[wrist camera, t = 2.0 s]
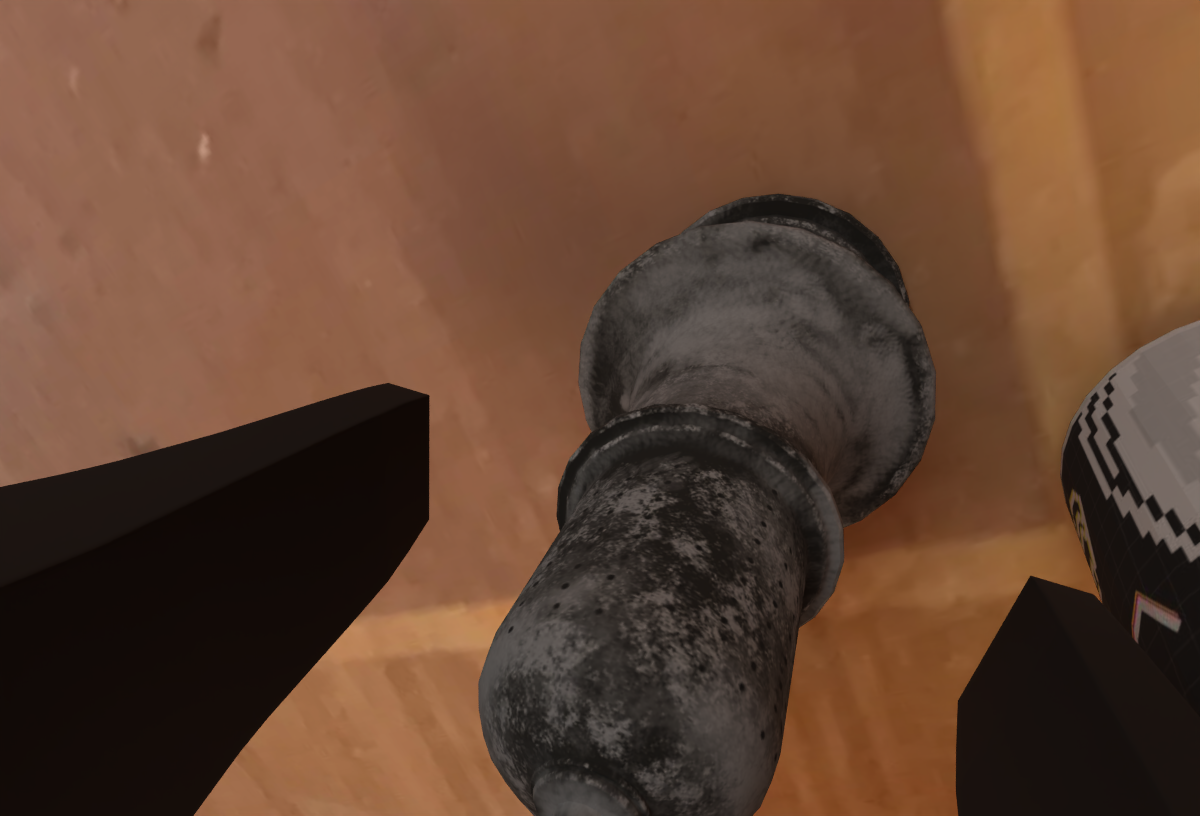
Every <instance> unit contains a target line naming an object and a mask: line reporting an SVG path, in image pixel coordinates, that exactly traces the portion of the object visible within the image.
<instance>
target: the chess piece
mask: <svg viewBox="0 0 1200 816" xmlns="http://www.w3.org/2000/svg"><path fill="white" fill-rule="evenodd" d="M578 383H579V388H580V393H581V398H582V402H583V407H584V412H585V417H586V421H587V423H588V425H589V427H590V429H591V431H592V432H591V433H590V435H589V436H588V437H587V438H586V439H585V441H584V442H583V443H582V444H581V445H580V447H579V448H578V449H577V450H576V451H575V453H574V454H573V455H572V456H571V458H570V459H569V461H568V464H567V466H566V469H565V471H564V474H563V476H562V479H561V481H560V484H559V487H558V501H557V520H558V524H559V529H560V532H559V534H558V536H557V537H556V539H555V540H554V542H553V543H552V545H551V547H550V548H549V550H548V551H547V553H546V554H545V556H544V558H543V559H542V561H541V562H540V564H539V566H538V567H537V569H536V570H535V572H534V573H533V575H532V577H531V578H530V580H529V581H528V583H527V584H526V586H525V588H524V589H523V591H522V592H521V594H520V595H519V597H518V599H517V600H516V602H515V603H514V605H513V606H512V608H511V610H510V611H509V613H508V614H507V616H506V618H505V619H504V621H503V622H502V624H501V625H500V627H499V629H498V630H497V632H496V634H495V636H494V639H493V642H492V644H491V647H490V649H489V652H488V655H487V657H486V661H485V664H484V667H483V670H482V673H481V676H480V679H479V712H480V718H481V724H482V730H483V736H484V739H485V742H486V745H487V748H488V751H489V754H490V757H491V760H492V761H493V763H494V765H495V766H496V768H497V769H498V771H499V773H500V774H501V776H502V777H503V779H504V780H505V782H506V783H507V785H508V786H509V787H510V789H511V790H512V791H513V792H514V794H515V795H516V796H517V798H518V799H519V800H520V801H521V802H522V803H523V804H524V805H525V806H526V808H527V809H528V810H529V811H530V812H531V813H532V814H533V815H534V816H753V814H754V813H755V812H756V811H757V810H758V809H759V808H760V806H761V804H762V802H763V799H764V797H765V795H766V793H767V790H768V788H769V786H770V784H771V781H772V779H773V775H774V772H775V769H776V766H777V763H778V760H779V757H780V753H781V746H782V739H783V733H784V726H785V719H786V712H787V705H788V698H789V692H790V685H791V678H792V671H793V664H794V657H795V651H796V644H797V637H798V630H799V628H800V627H801V626H802V625H804V624H805V623H807V622H808V621H810V620H811V619H813V618H814V617H815V616H816V615H817V614H818V612H819V611H820V610H821V608H822V607H823V606H824V604H825V603H826V602H827V600H828V599H829V598H830V597H831V595H832V594H833V593H834V591H835V587H836V584H837V581H838V578H839V575H840V572H841V569H842V566H843V563H844V535H843V528H844V527H847V526H849V525H852V524H854V523H856V522H859V521H861V520H863V519H864V518H865V517H867V516H868V515H869V514H870V513H872V512H873V511H874V510H876V509H877V508H878V507H880V506H881V505H882V504H884V503H885V502H886V501H888V500H889V499H890V498H892V497H893V496H894V495H895V494H896V493H897V492H898V490H899V489H900V488H901V486H902V485H903V484H904V482H905V481H906V480H907V478H908V477H909V476H910V474H911V473H912V471H913V470H914V469H915V467H916V466H917V465H918V463H919V462H920V461H921V458H922V455H923V453H924V450H925V447H926V444H927V441H928V438H929V435H930V432H931V429H932V426H933V424H934V421H935V393H936V371H935V368H934V364H933V361H932V358H931V355H930V352H929V348H928V345H927V342H926V339H925V336H924V332H923V329H922V326H921V324H920V323H919V321H918V320H917V318H916V317H915V315H914V314H913V312H912V311H911V309H910V308H909V298H908V295H907V292H906V289H905V286H904V282H903V279H902V276H901V273H900V270H899V267H898V265H897V264H896V262H895V261H894V259H893V258H892V256H891V255H890V253H889V252H888V251H887V249H886V248H885V246H884V245H883V243H882V242H881V240H880V239H879V237H878V236H876V235H875V234H874V233H873V232H871V231H870V230H869V229H868V228H867V227H865V226H864V225H863V224H862V223H860V222H859V221H858V220H857V219H855V218H854V217H853V216H852V215H851V214H849V213H847V212H844V211H842V210H840V209H837V208H835V207H833V206H831V205H828V204H826V203H824V202H821V201H819V200H817V199H812V198H805V197H798V196H791V195H784V194H772V195H764V196H756V197H747V198H741V199H739V200H736V201H734V202H731V203H729V204H726V205H724V206H721V207H719V208H716V209H714V210H711V211H709V212H708V213H707V214H705V215H704V216H703V217H701V218H700V219H699V220H697V221H696V222H695V223H693V224H692V225H691V226H690V227H688V228H687V229H686V230H684V231H683V232H682V233H681V234H679V235H677V236H674V237H672V238H669V239H667V240H664V241H662V242H659V243H657V244H655V245H654V246H653V247H651V248H650V249H649V250H647V251H646V252H645V253H643V254H642V255H641V256H639V257H638V258H637V259H635V260H634V261H633V262H632V263H630V264H629V265H628V266H626V267H625V268H624V269H622V270H621V271H620V272H619V273H618V275H617V276H616V277H615V279H614V280H613V281H612V283H611V284H610V285H609V287H608V288H607V290H606V291H605V292H604V294H603V295H602V296H601V298H600V299H599V300H598V302H597V303H596V305H595V306H594V308H593V311H592V314H591V317H590V319H589V322H588V325H587V328H586V331H585V334H584V336H583V339H582V342H581V348H580V365H579V381H578Z"/></svg>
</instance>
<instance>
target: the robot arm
mask: <svg viewBox="0 0 1200 816" xmlns="http://www.w3.org/2000/svg"><path fill="white" fill-rule="evenodd" d="M428 520H429V395H427V394H423V393H420V392H417V391H413V390H410V389H407V388H403V387H400V386H397V385H393V384H390V383H386V384H381V385H376V386H372V387H368V388H364V389H360V390H357V391H353V392H350V393H346V394H343V395H339V396H336V397H333V398H329V399H326V400H323V401H320V402H316V403H313V404H310V405H307V406H304V407H300V408H297V409H294V410H291V411H288V412H284V413H281V414H278V415H275V416H272V417H268V418H265V419H262V420H259V421H256V422H252V423H249V424H246V425H243V426H239V427H236V428H233V429H230V430H227V431H223V432H220V433H217V434H213V435H210V436H206V437H202V438H199V439H195V440H192V441H188V442H184V443H181V444H177V445H174V446H170V447H166V448H163V449H159V450H156V451H152V452H148V453H145V454H141V455H138V456H134V457H130V458H127V459H123V460H120V461H116V462H111V463H107V464H103V465H99V466H95V467H91V468H87V469H82V470H78V471H74V472H70V473H65V474H61V475H56V476H51V477H47V478H42V479H37V480H32V481H27V482H22V483H18V484H13V485H8V486H3V487H0V816H194V814H195V813H196V811H197V810H198V809H199V807H200V806H201V805H202V803H203V802H204V801H205V799H206V798H207V796H208V795H209V794H210V792H211V791H212V790H213V788H214V787H215V785H216V784H217V783H218V781H219V780H220V779H221V777H222V776H223V775H224V773H225V772H226V770H227V769H228V768H229V766H230V765H231V764H232V762H233V761H234V759H235V758H236V757H237V755H238V754H239V753H240V751H241V750H242V749H243V748H244V746H245V745H246V744H247V743H248V742H249V740H250V739H251V738H252V737H253V735H254V734H255V733H256V732H257V731H258V729H259V728H260V727H261V726H262V724H263V723H264V722H265V721H266V720H267V718H268V717H269V716H270V715H271V714H272V713H273V711H274V710H275V709H276V708H277V707H278V706H279V705H280V704H281V702H282V701H283V700H284V699H285V698H286V697H287V696H288V695H289V693H290V692H291V691H292V690H293V689H294V688H295V687H296V686H297V684H298V683H299V682H300V681H301V680H302V679H303V678H304V676H305V675H306V674H307V673H308V672H309V671H310V670H311V669H312V667H313V666H314V665H315V664H316V663H317V662H318V661H319V660H320V658H321V657H322V656H323V655H324V654H325V653H326V652H327V651H328V649H329V648H330V647H331V646H332V645H333V644H334V643H335V642H336V640H337V639H338V638H339V637H340V636H341V635H342V634H343V633H344V631H345V630H346V629H347V628H348V627H349V626H350V625H351V623H352V622H353V621H354V620H355V619H356V618H357V617H358V615H359V614H360V613H361V612H362V611H363V610H364V608H365V607H366V606H367V605H368V604H369V603H370V602H371V600H372V599H373V598H374V597H375V596H376V595H377V593H378V592H379V591H380V590H381V589H382V588H383V586H384V585H385V584H386V583H387V582H388V580H389V579H390V578H391V576H392V575H393V573H394V572H395V570H396V569H397V567H398V566H399V565H400V563H401V562H402V560H403V559H404V557H405V556H406V554H407V553H408V551H409V550H410V548H411V547H412V545H413V544H414V542H415V540H416V539H417V537H418V536H419V534H420V533H421V531H422V530H423V528H424V526H425V525H426V523H427V522H428ZM956 796H957V806H958V816H1200V717H1199V715H1198V714H1197V713H1196V712H1195V711H1194V709H1193V708H1192V707H1191V706H1190V705H1189V704H1188V702H1187V701H1186V700H1185V699H1184V698H1183V696H1182V695H1181V694H1180V693H1179V692H1178V691H1177V689H1176V688H1175V687H1174V686H1173V685H1172V683H1171V682H1170V681H1169V680H1168V679H1167V677H1166V676H1165V675H1164V674H1163V673H1162V672H1161V670H1160V669H1159V668H1158V667H1157V666H1156V664H1155V663H1154V662H1153V661H1152V660H1151V659H1150V657H1149V656H1148V655H1147V654H1146V653H1145V652H1144V650H1143V649H1142V648H1141V647H1140V646H1139V644H1138V643H1137V642H1136V641H1135V640H1134V639H1133V637H1132V636H1131V635H1130V634H1129V633H1128V632H1127V631H1126V629H1125V628H1124V627H1123V626H1122V625H1121V624H1120V623H1119V621H1118V620H1117V619H1116V618H1115V617H1114V616H1113V615H1112V614H1111V612H1110V611H1109V610H1108V609H1107V608H1106V607H1105V606H1104V605H1103V604H1102V603H1101V602H1100V601H1099V600H1098V599H1097V598H1096V597H1095V596H1094V595H1093V594H1090V593H1087V592H1083V591H1080V590H1077V589H1073V588H1070V587H1067V586H1063V585H1060V584H1057V583H1053V582H1050V581H1047V580H1043V579H1040V578H1037V577H1033V576H1030V577H1029V579H1028V581H1027V583H1026V584H1025V586H1024V588H1023V590H1022V591H1021V593H1020V595H1019V596H1018V598H1017V600H1016V602H1015V603H1014V605H1013V607H1012V608H1011V610H1010V612H1009V614H1008V615H1007V617H1006V619H1005V621H1004V622H1003V624H1002V626H1001V627H1000V629H999V631H998V633H997V634H996V636H995V638H994V640H993V641H992V643H991V645H990V646H989V648H988V650H987V652H986V653H985V655H984V657H983V659H982V660H981V662H980V664H979V665H978V667H977V669H976V671H975V672H974V674H973V676H972V677H971V679H970V681H969V683H968V684H967V686H966V688H965V690H964V691H963V693H962V695H961V696H960V698H959V700H958V714H957V742H956Z"/></svg>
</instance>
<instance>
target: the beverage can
mask: <svg viewBox="0 0 1200 816" xmlns="http://www.w3.org/2000/svg"><path fill="white" fill-rule="evenodd" d="M1060 476H1061V482H1062V486H1063V491H1064V496H1065V501H1066V504H1067V507H1068V510H1069V512H1070V515H1071V518H1072V521H1073V523H1074V526H1075V529H1076V532H1077V534H1078V537H1079V540H1080V543H1081V545H1082V548H1083V551H1084V554H1085V556H1086V559H1087V562H1088V565H1089V567H1090V570H1091V573H1092V576H1093V578H1094V581H1095V584H1096V587H1097V589H1098V592H1099V595H1100V598H1101V600H1102V603H1103V605H1104V606H1105V607H1106V608H1107V609H1108V610H1109V611H1110V612H1111V614H1112V615H1113V616H1114V617H1115V618H1116V619H1117V620H1118V621H1119V623H1120V624H1121V625H1122V626H1123V627H1124V628H1125V629H1126V631H1127V632H1128V633H1129V634H1130V635H1131V636H1132V637H1133V639H1134V640H1135V641H1136V642H1137V643H1138V644H1139V646H1140V647H1141V648H1142V649H1143V650H1144V652H1145V653H1146V654H1147V655H1148V656H1149V657H1150V659H1151V660H1152V661H1153V662H1154V663H1155V664H1156V666H1157V667H1158V668H1159V669H1160V670H1161V672H1162V673H1163V674H1164V675H1165V676H1166V677H1167V679H1168V680H1169V681H1170V682H1171V683H1172V685H1173V686H1174V687H1175V688H1176V689H1177V691H1178V692H1179V693H1180V694H1181V695H1182V696H1183V698H1184V699H1185V700H1186V701H1187V702H1188V704H1189V705H1190V706H1191V707H1192V708H1193V709H1194V711H1195V712H1196V713H1197V714H1198V715H1199V717H1200V320H1199V321H1196V322H1194V323H1191V324H1188V325H1185V326H1183V327H1180V328H1177V329H1174V330H1173V331H1171V332H1169V333H1167V334H1165V335H1163V336H1161V337H1159V338H1157V339H1156V340H1154V341H1152V342H1150V343H1148V344H1146V345H1144V346H1142V347H1140V348H1139V349H1138V350H1136V351H1135V352H1134V353H1132V354H1131V355H1130V356H1128V357H1127V358H1126V359H1124V360H1123V361H1122V362H1121V363H1119V364H1118V365H1117V366H1115V367H1114V368H1113V369H1111V370H1110V371H1109V372H1108V373H1107V374H1106V375H1105V376H1104V378H1103V379H1102V380H1101V381H1100V382H1099V383H1098V384H1097V385H1096V386H1095V387H1094V388H1093V389H1092V390H1091V392H1090V393H1089V394H1088V395H1087V396H1086V398H1085V399H1084V401H1083V402H1082V404H1081V406H1080V407H1079V409H1078V411H1077V412H1076V414H1075V416H1074V417H1073V419H1072V420H1071V422H1070V425H1069V428H1068V431H1067V434H1066V437H1065V440H1064V443H1063V447H1062V456H1061V471H1060Z"/></svg>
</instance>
